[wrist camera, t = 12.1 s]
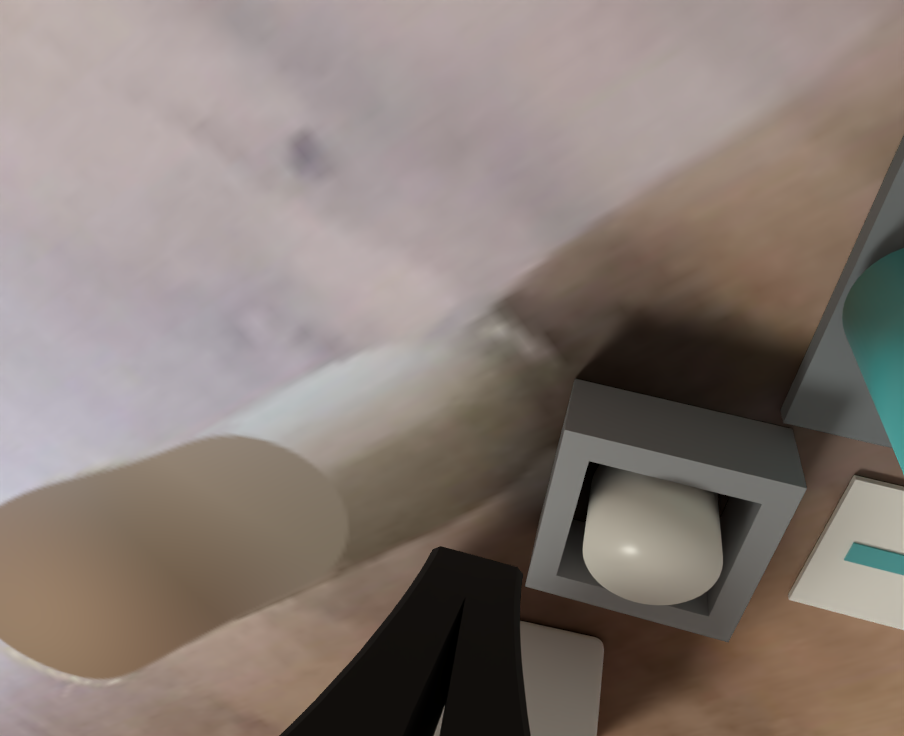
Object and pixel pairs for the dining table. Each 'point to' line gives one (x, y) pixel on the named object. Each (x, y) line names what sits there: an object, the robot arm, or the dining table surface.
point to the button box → (681, 461)
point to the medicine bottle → (559, 681)
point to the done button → (651, 537)
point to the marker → (880, 340)
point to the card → (859, 556)
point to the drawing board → (829, 354)
